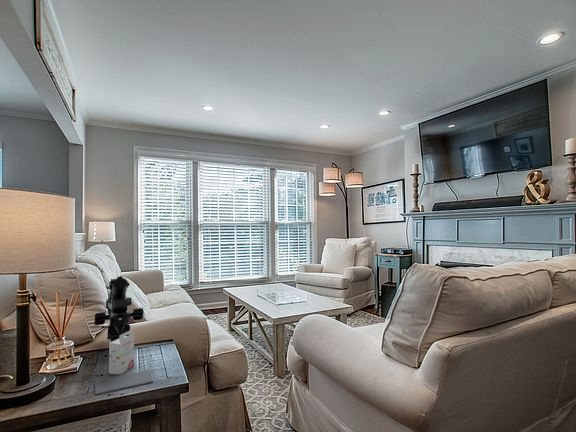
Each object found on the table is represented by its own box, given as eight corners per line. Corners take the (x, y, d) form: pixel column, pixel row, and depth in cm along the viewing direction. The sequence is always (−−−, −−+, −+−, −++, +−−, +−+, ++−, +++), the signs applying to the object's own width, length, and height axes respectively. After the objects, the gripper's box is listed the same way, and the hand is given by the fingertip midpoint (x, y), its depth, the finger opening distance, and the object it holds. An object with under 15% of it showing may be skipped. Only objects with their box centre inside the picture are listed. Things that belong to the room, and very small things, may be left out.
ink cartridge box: (123, 364, 134) (124, 328, 135) (134, 365, 133) (134, 328, 134) (107, 373, 126) (108, 334, 126) (119, 375, 125) (120, 335, 125)
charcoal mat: (95, 381, 119) (95, 380, 119) (148, 370, 128) (148, 369, 128) (95, 395, 110) (95, 393, 110) (153, 382, 119) (153, 380, 119)
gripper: (95, 293, 138) (94, 327, 128) (143, 289, 148) (146, 320, 138) (94, 308, 145) (94, 341, 135) (140, 303, 154) (143, 334, 144)
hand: (120, 334), depth 138 cm, fingers closed
